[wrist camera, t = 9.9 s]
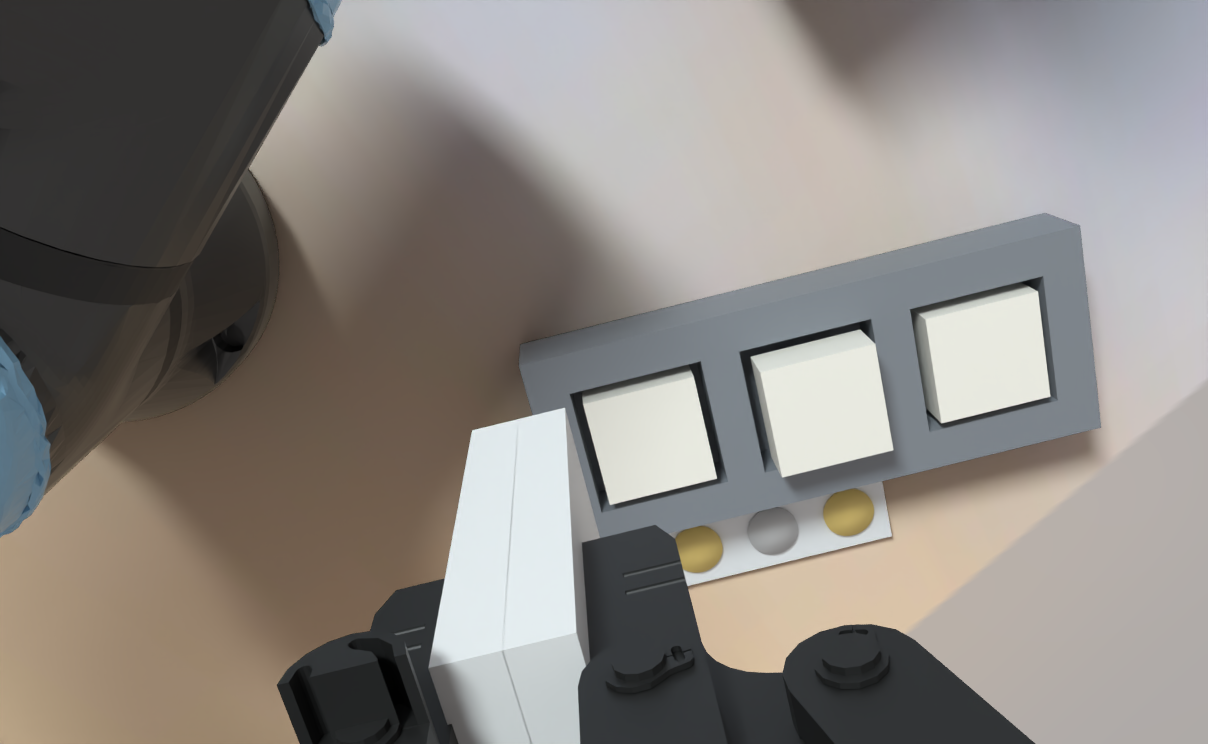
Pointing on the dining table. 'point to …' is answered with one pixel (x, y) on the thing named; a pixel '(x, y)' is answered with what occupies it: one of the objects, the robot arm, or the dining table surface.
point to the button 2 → (822, 402)
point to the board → (812, 312)
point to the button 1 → (649, 434)
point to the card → (783, 533)
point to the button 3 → (981, 352)
